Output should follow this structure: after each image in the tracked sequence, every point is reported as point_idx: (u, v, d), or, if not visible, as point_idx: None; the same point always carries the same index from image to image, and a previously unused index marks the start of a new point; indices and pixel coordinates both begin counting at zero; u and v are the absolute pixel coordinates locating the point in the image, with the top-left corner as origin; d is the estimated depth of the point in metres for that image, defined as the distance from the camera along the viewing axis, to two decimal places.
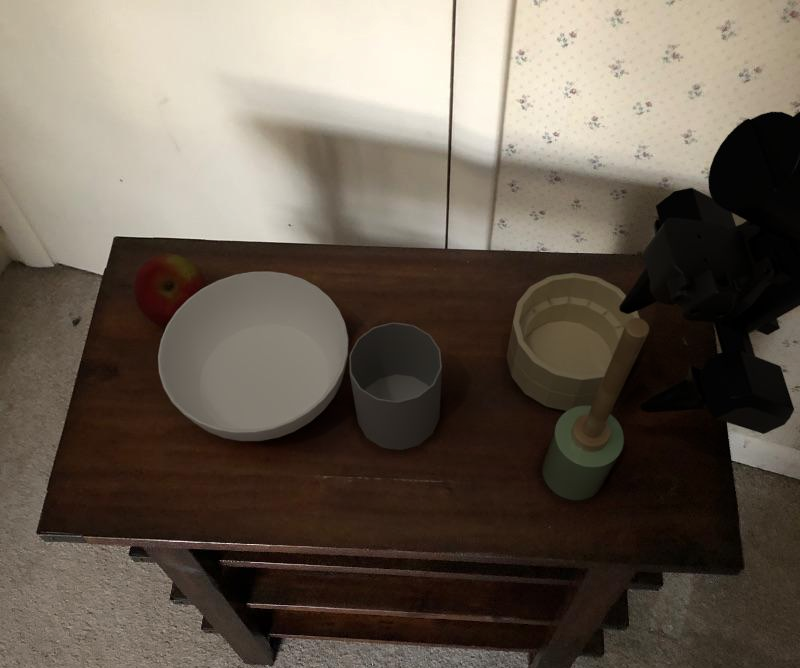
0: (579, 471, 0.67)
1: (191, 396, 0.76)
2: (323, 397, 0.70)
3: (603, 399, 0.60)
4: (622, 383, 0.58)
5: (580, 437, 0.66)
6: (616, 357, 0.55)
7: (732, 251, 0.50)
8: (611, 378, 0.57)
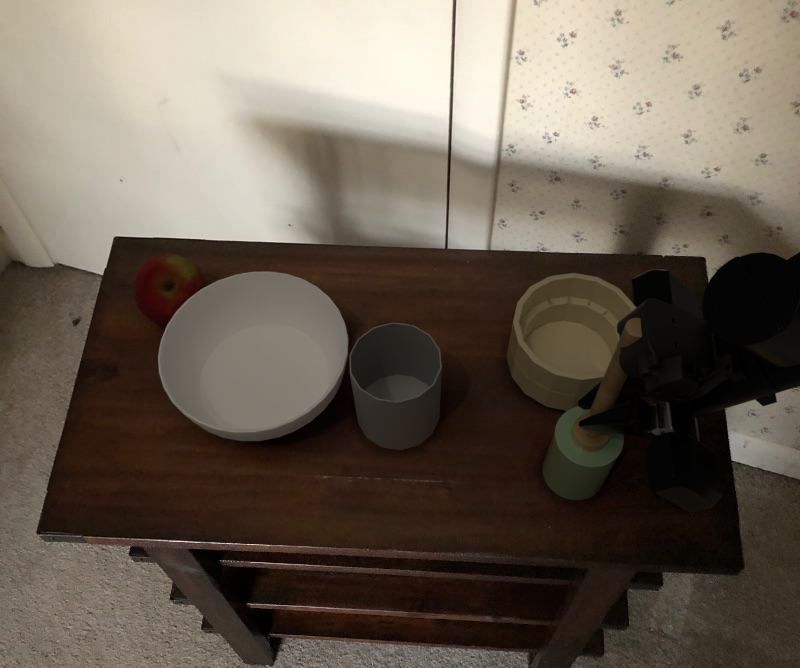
0: (579, 471, 0.67)
1: (191, 396, 0.76)
2: (323, 397, 0.70)
3: (603, 399, 0.60)
4: (622, 383, 0.58)
5: (579, 437, 0.66)
6: (616, 357, 0.55)
7: (699, 341, 0.53)
8: (611, 378, 0.57)
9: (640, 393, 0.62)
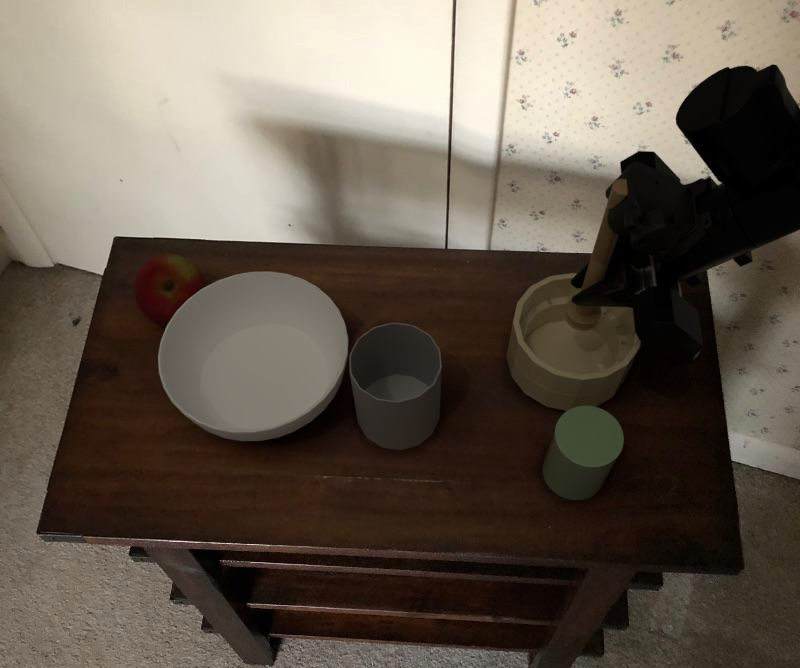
0: (579, 471, 0.67)
1: (191, 396, 0.76)
2: (323, 397, 0.70)
3: (593, 270, 0.65)
4: (611, 250, 0.62)
5: (572, 316, 0.70)
6: (604, 220, 0.60)
7: (680, 201, 0.58)
8: (601, 245, 0.62)
9: None
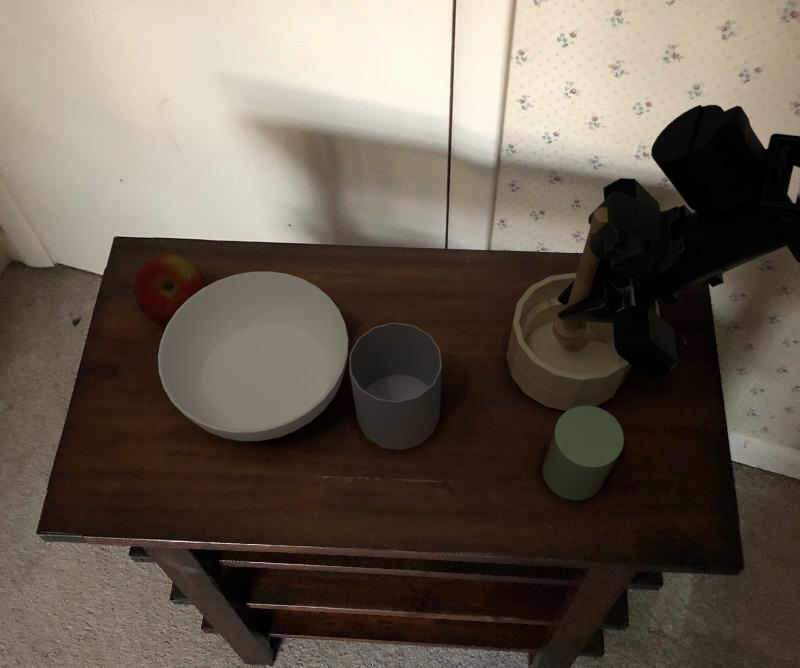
0: (579, 471, 0.67)
1: (191, 396, 0.76)
2: (323, 397, 0.70)
3: (578, 288, 0.70)
4: (593, 271, 0.67)
5: (559, 330, 0.76)
6: (587, 244, 0.65)
7: (657, 228, 0.63)
8: (584, 266, 0.67)
9: None
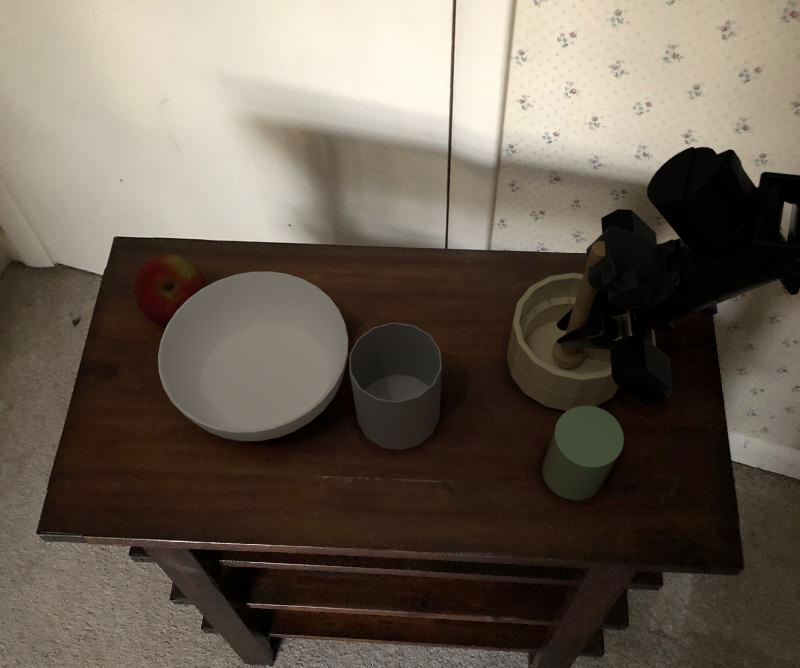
0: (579, 471, 0.67)
1: (191, 396, 0.76)
2: (323, 397, 0.70)
3: (576, 317, 0.72)
4: (591, 300, 0.69)
5: (558, 355, 0.77)
6: (585, 276, 0.67)
7: (653, 260, 0.65)
8: (582, 296, 0.69)
9: None
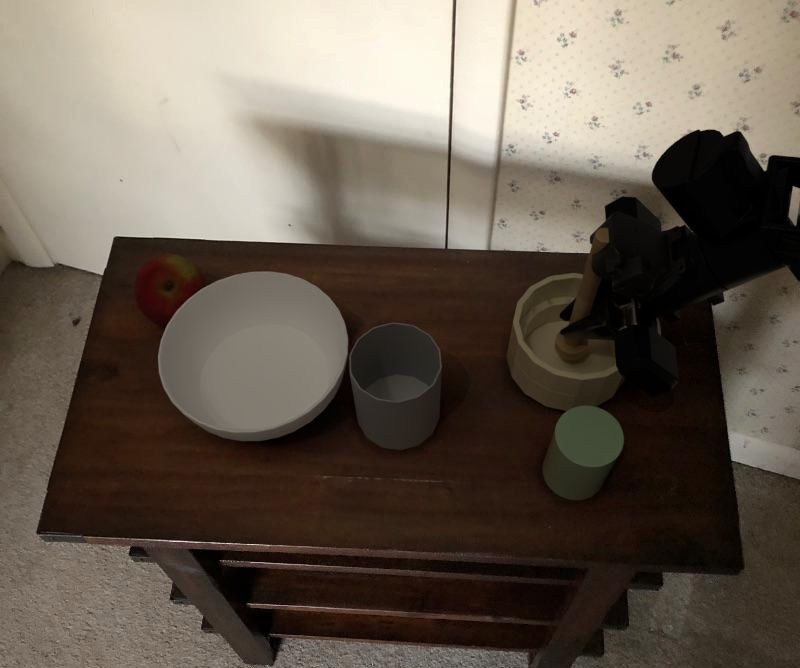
0: (579, 471, 0.67)
1: (191, 396, 0.76)
2: (323, 397, 0.70)
3: (579, 306, 0.70)
4: (595, 289, 0.68)
5: (561, 346, 0.76)
6: (589, 264, 0.65)
7: (658, 248, 0.63)
8: (586, 285, 0.67)
9: None
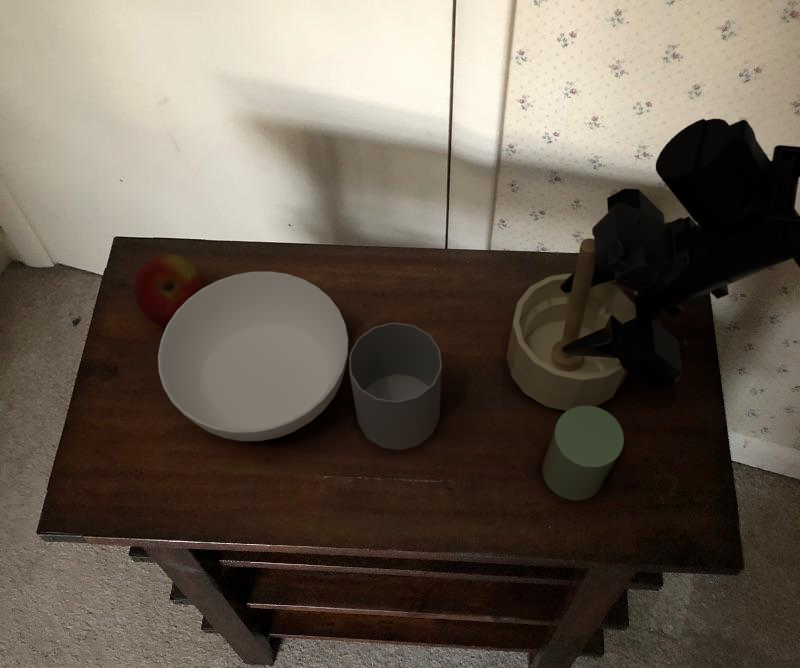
0: (579, 471, 0.67)
1: (191, 396, 0.76)
2: (323, 397, 0.70)
3: (571, 317, 0.72)
4: (584, 299, 0.70)
5: (557, 358, 0.78)
6: (576, 274, 0.68)
7: (661, 239, 0.62)
8: (575, 295, 0.70)
9: (613, 275, 0.73)
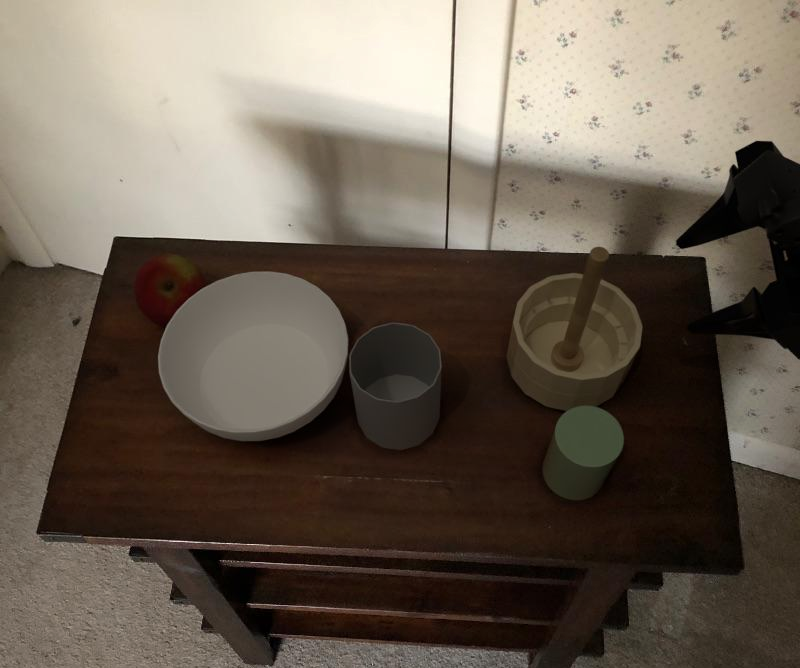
0: (579, 471, 0.67)
1: (191, 396, 0.76)
2: (323, 397, 0.70)
3: (575, 321, 0.72)
4: (590, 305, 0.70)
5: (557, 359, 0.78)
6: (584, 281, 0.67)
7: None
8: (581, 301, 0.69)
9: (736, 228, 0.68)
